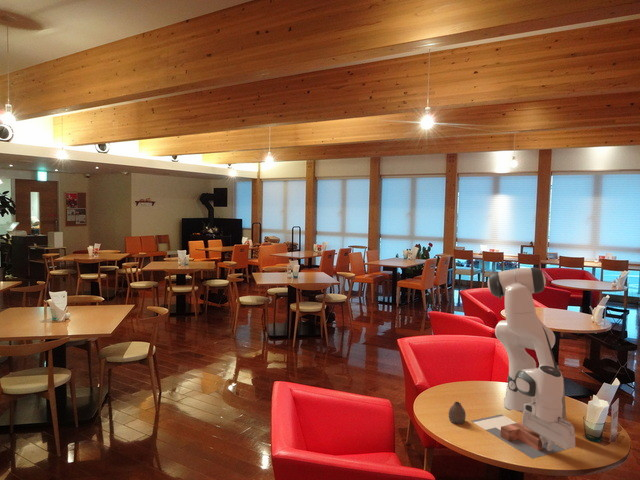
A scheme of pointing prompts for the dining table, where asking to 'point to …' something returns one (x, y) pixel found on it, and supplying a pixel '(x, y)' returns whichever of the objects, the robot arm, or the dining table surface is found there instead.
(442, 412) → the dining table surface
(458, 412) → the vase
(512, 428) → the t block
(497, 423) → the board
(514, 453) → the dining table surface
